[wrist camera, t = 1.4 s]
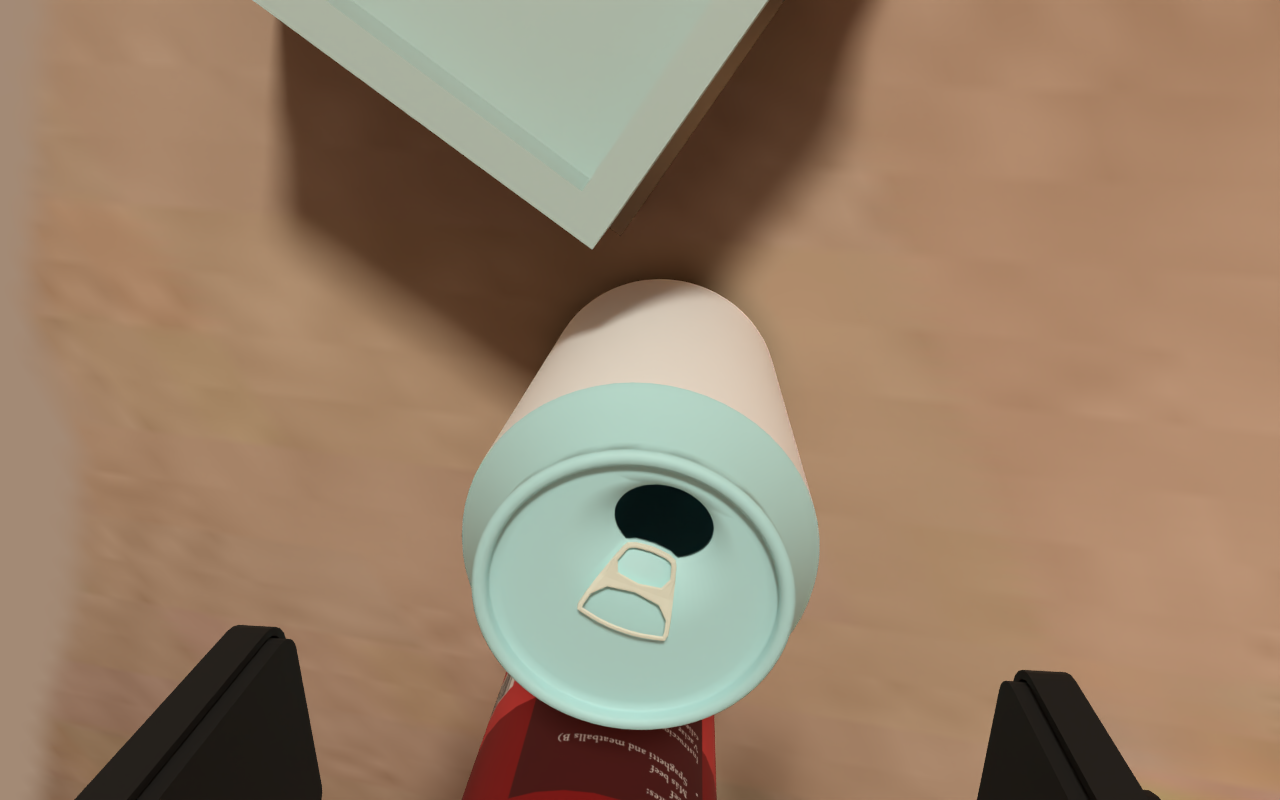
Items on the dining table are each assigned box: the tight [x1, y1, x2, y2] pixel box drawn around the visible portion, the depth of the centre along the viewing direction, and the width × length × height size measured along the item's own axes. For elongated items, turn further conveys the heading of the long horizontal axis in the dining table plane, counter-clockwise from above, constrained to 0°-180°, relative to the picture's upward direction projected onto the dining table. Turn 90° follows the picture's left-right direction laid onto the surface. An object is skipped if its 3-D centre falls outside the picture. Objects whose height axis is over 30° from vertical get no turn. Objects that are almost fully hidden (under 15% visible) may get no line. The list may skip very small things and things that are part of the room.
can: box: [462, 279, 819, 730], centre depth 20 cm, size 7×7×12 cm
